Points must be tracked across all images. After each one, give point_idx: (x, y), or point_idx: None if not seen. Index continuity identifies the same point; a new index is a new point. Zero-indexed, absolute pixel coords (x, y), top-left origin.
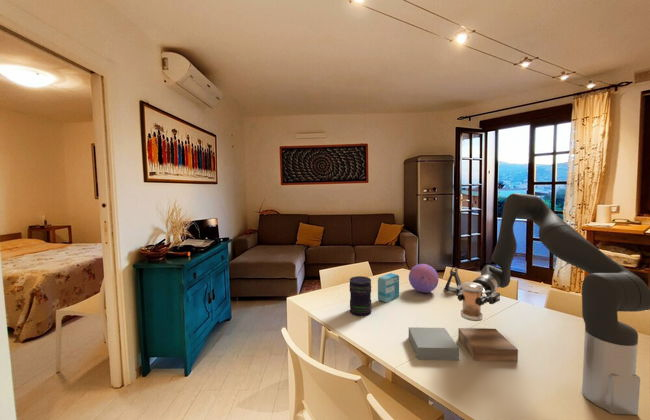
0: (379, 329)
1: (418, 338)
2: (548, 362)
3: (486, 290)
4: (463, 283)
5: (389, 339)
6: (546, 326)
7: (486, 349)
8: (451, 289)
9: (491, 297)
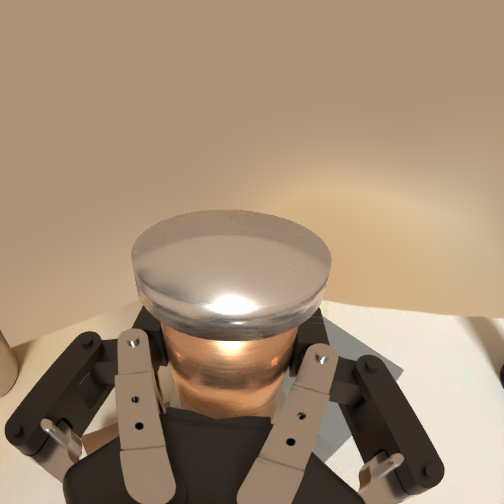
0: (446, 366)
1: (347, 343)
2: (29, 469)
3: (108, 494)
4: (309, 246)
5: (404, 354)
6: None
7: (169, 402)
8: None
9: (89, 332)
